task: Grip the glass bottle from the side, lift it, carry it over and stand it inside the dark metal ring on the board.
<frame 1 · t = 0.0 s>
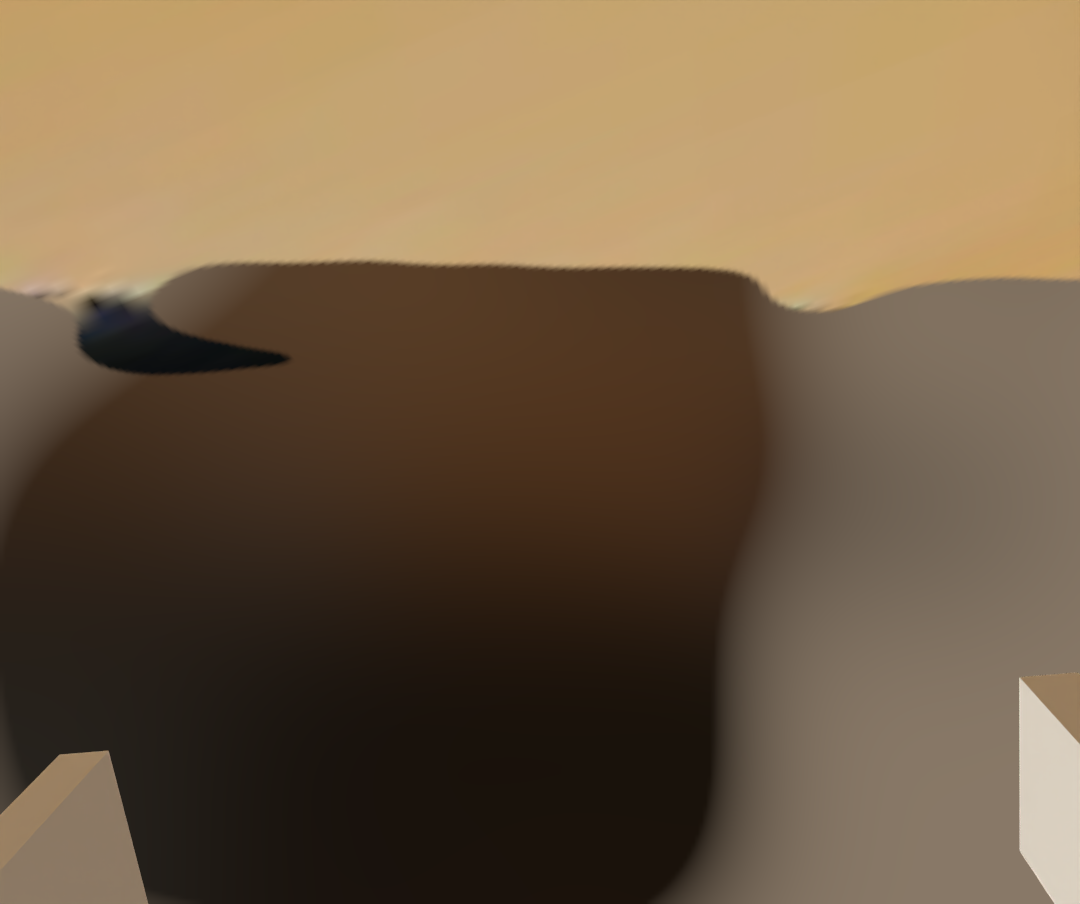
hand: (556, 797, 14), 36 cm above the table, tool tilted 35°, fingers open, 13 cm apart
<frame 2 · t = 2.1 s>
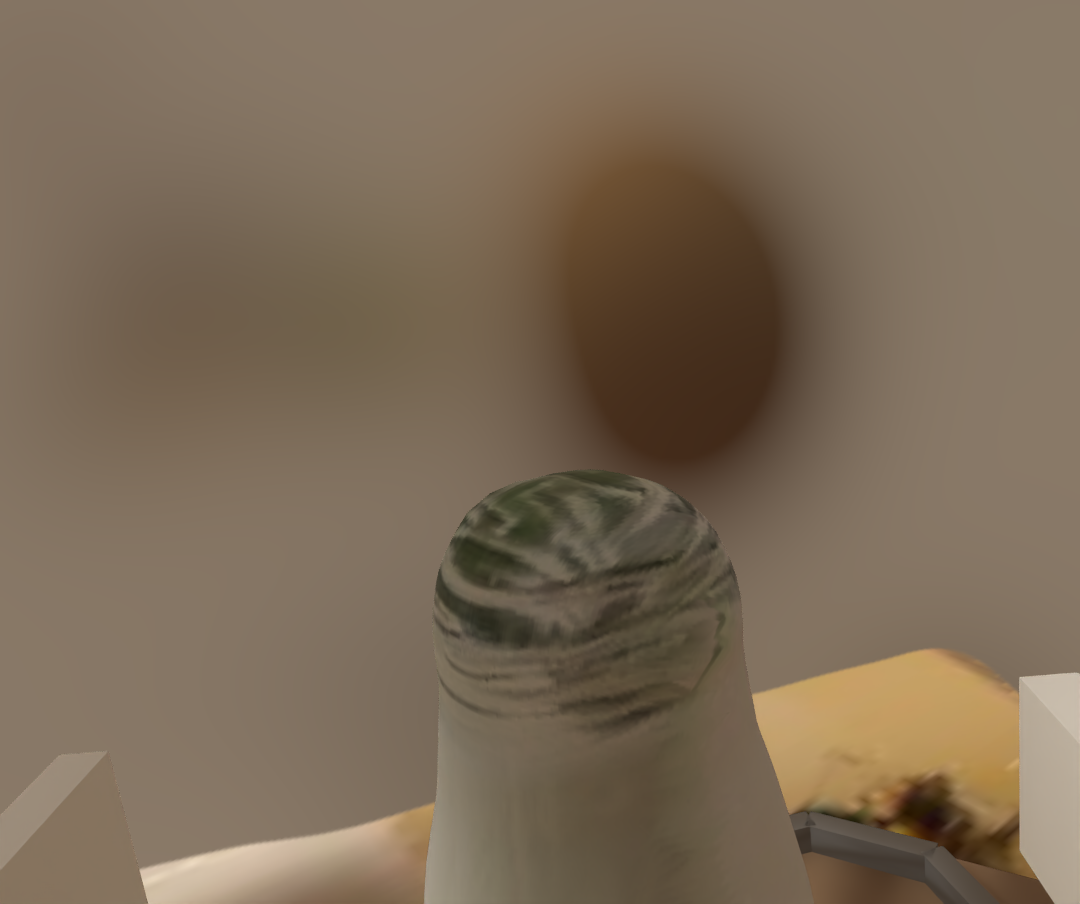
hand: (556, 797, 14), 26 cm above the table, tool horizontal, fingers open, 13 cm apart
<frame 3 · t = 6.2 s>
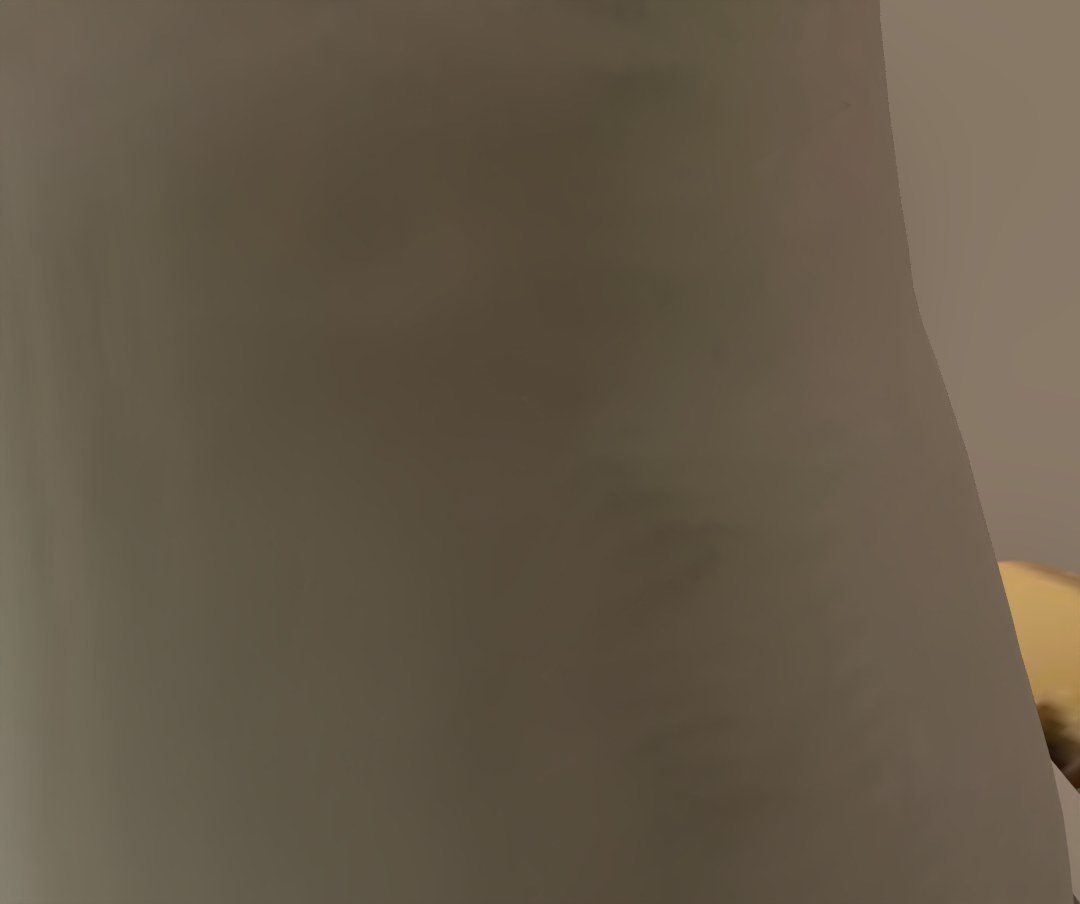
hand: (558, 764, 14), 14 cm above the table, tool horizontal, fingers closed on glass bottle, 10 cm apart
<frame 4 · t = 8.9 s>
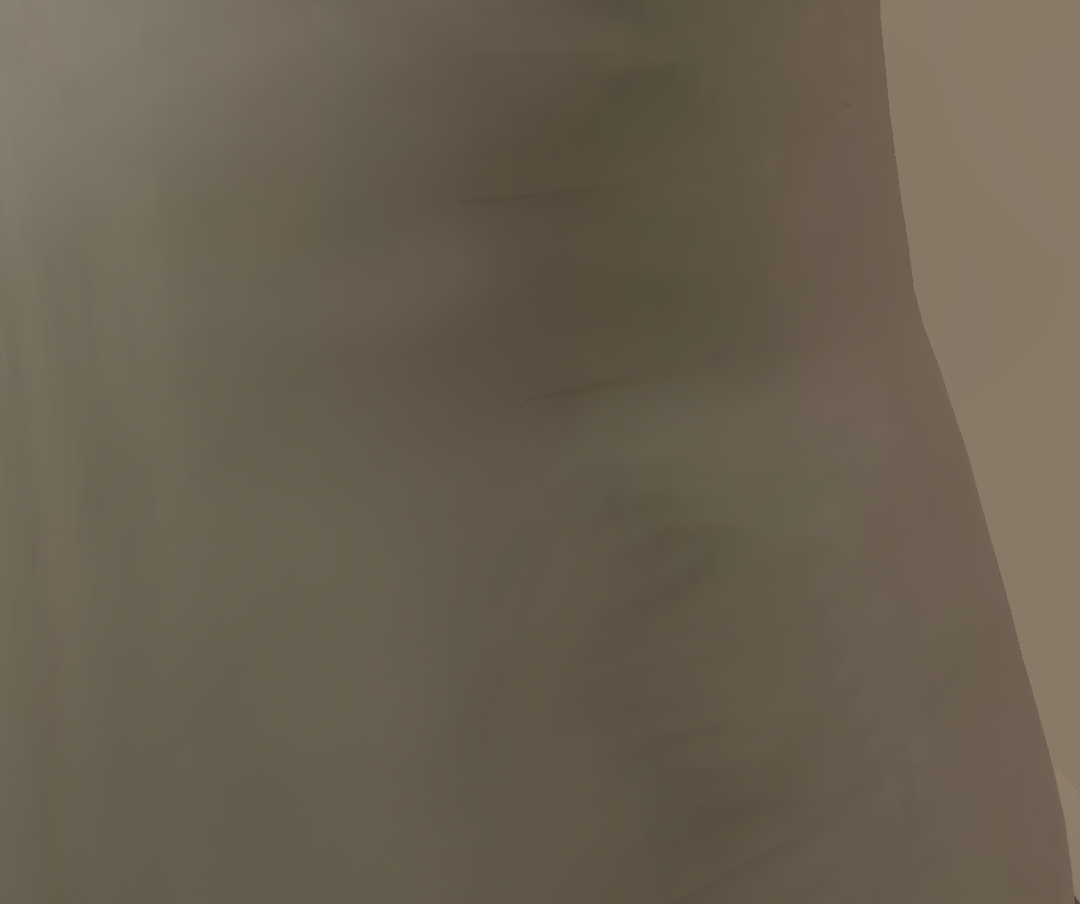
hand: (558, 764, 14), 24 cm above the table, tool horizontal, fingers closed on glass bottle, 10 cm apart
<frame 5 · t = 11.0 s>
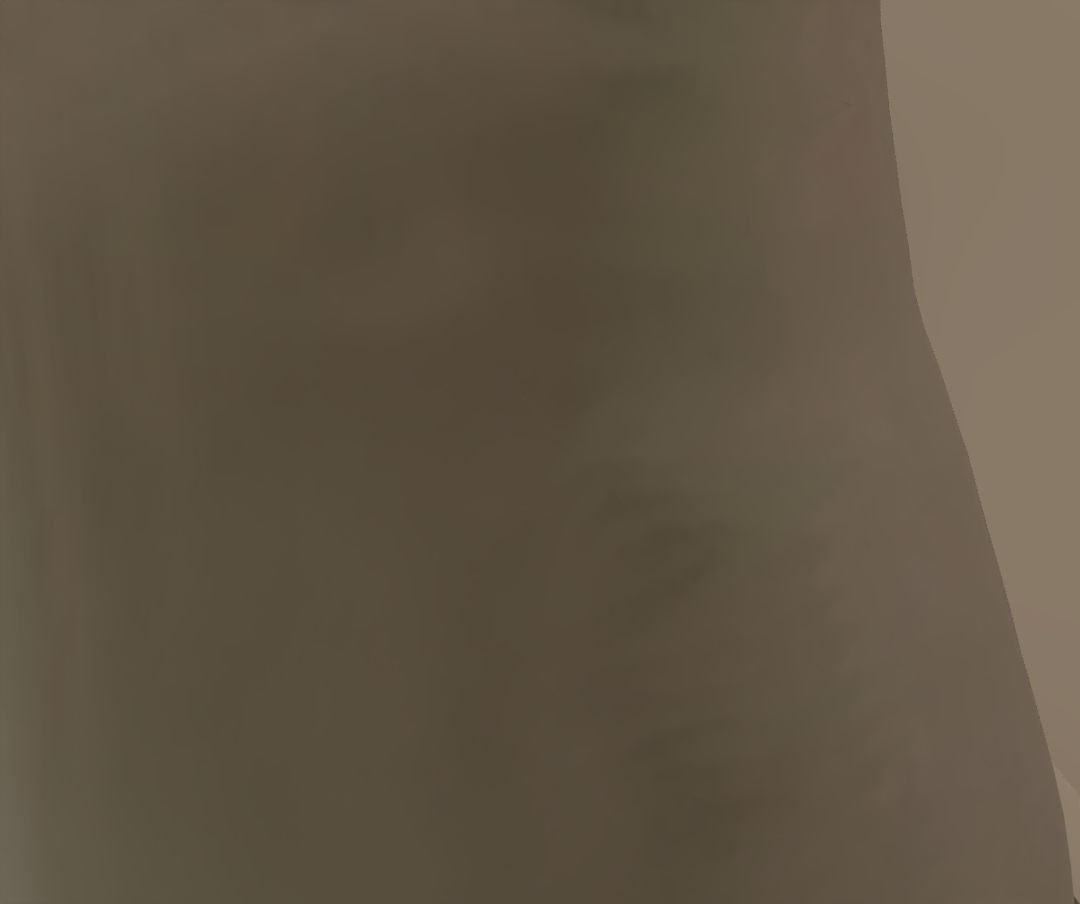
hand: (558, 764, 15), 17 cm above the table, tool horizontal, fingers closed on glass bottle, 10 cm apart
when the fingers open (16 cm above the table, at t = 11.5 s): glass bottle drops 1 cm, resting on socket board.
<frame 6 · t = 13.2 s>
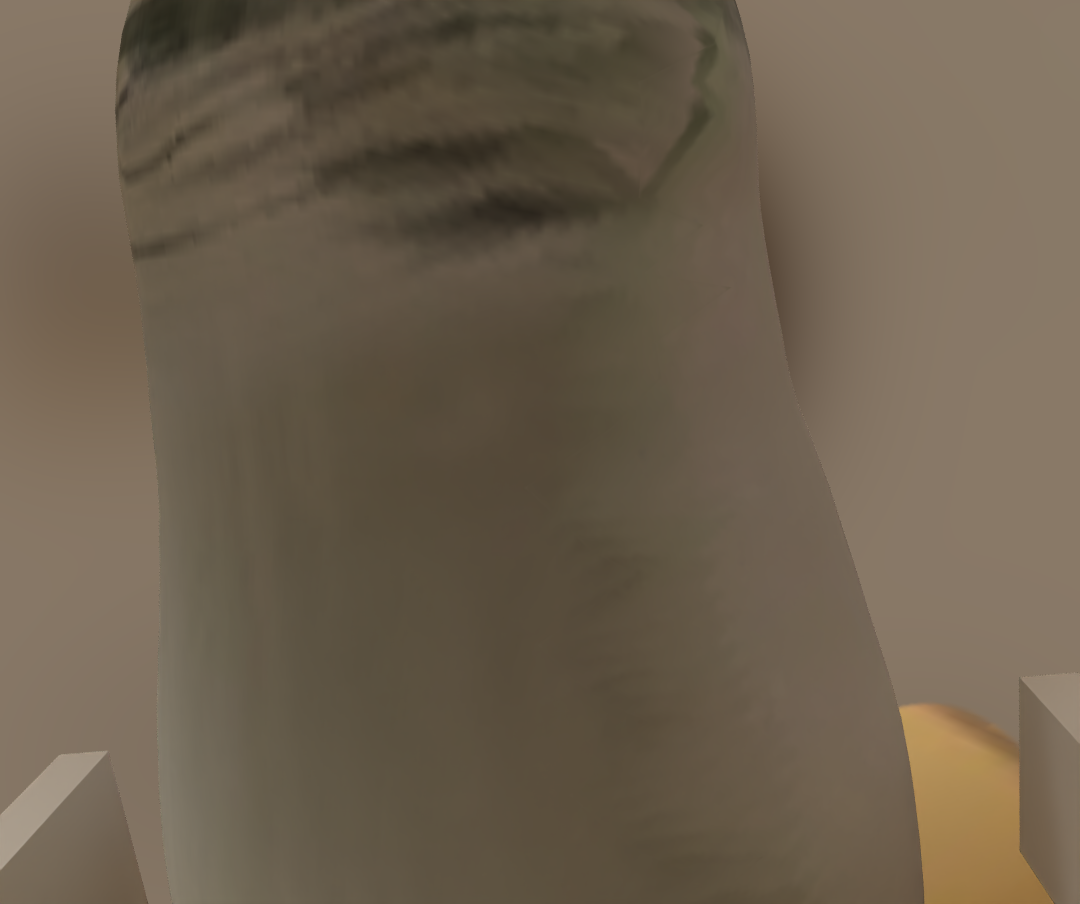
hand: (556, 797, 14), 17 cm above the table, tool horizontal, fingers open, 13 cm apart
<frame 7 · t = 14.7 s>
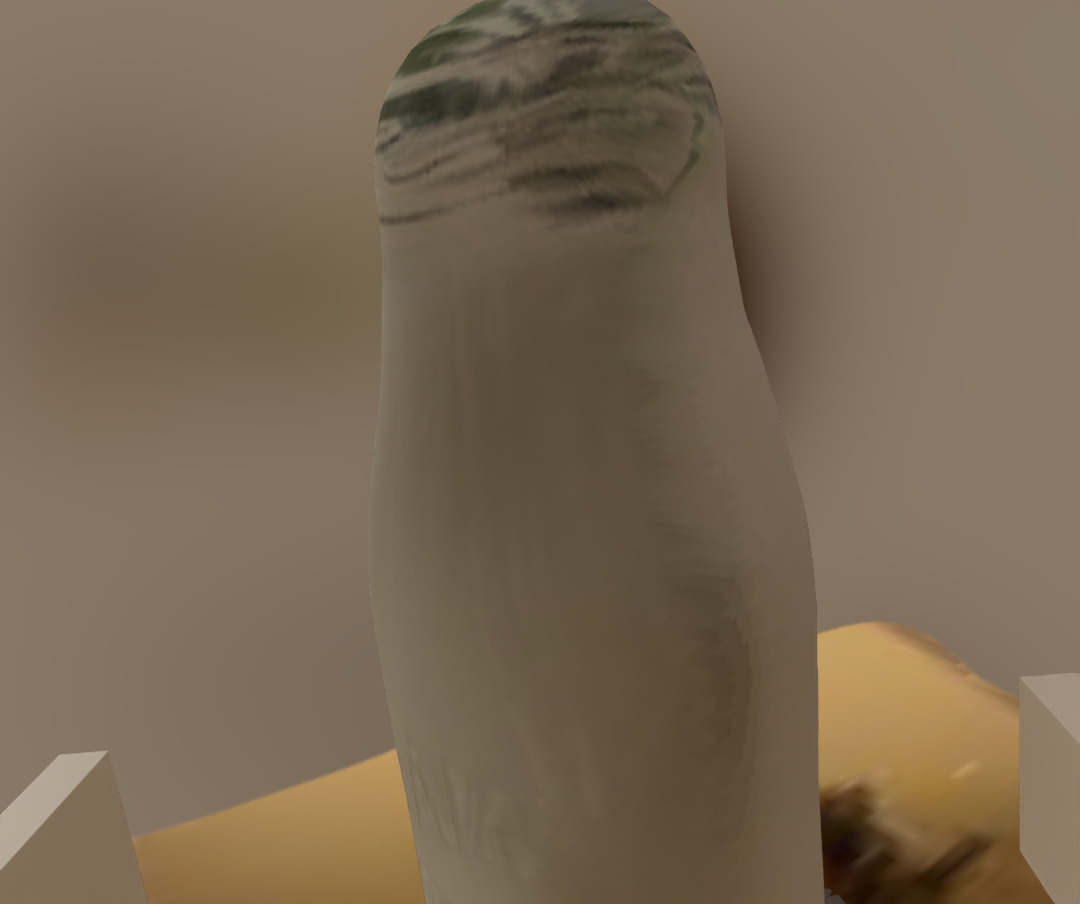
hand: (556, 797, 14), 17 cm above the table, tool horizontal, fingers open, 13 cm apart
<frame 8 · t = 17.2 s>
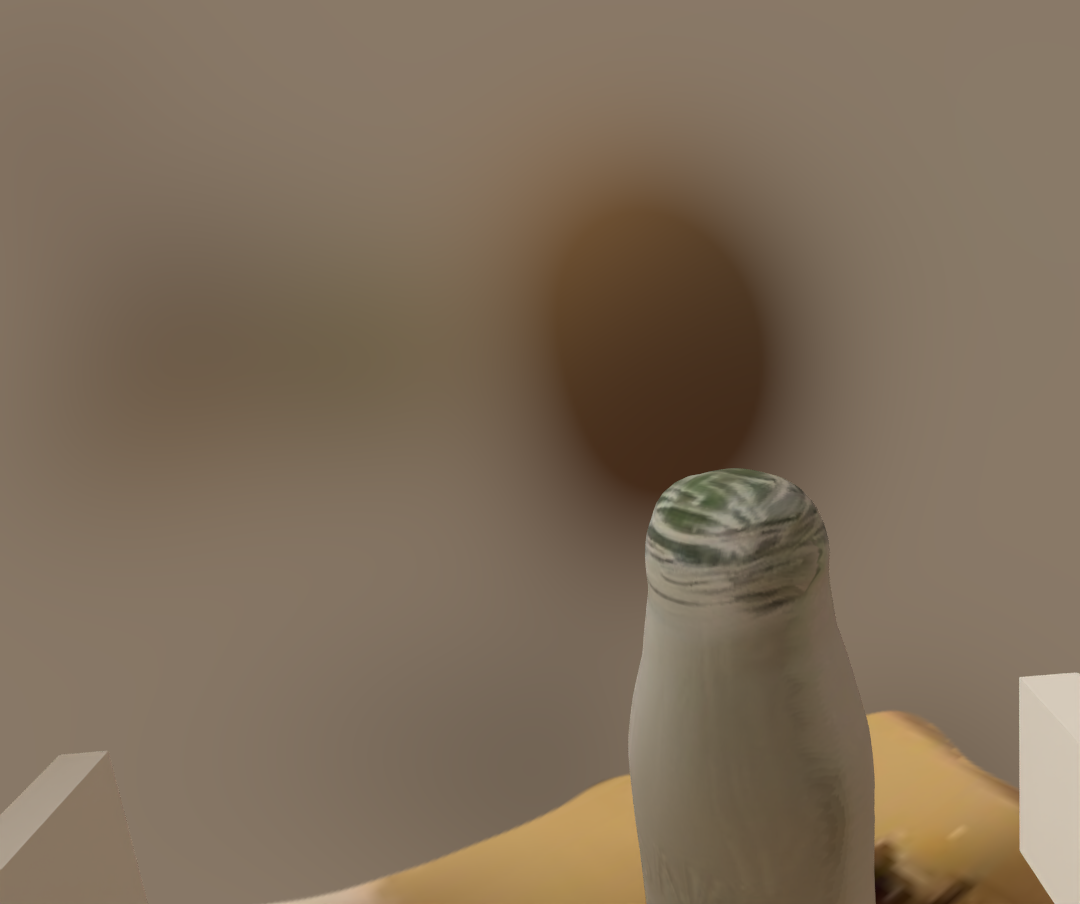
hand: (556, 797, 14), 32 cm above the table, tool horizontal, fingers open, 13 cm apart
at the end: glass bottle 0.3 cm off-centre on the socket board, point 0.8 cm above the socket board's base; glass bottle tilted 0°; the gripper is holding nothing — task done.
